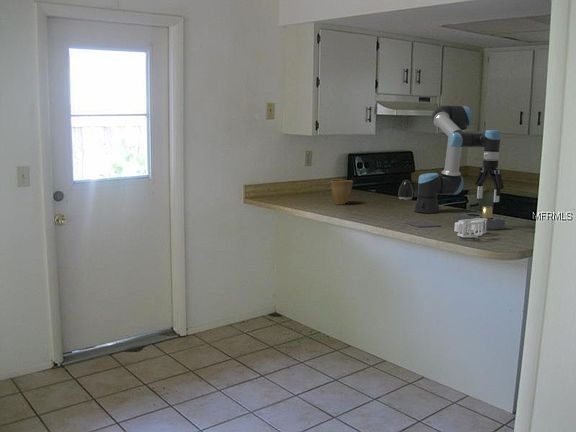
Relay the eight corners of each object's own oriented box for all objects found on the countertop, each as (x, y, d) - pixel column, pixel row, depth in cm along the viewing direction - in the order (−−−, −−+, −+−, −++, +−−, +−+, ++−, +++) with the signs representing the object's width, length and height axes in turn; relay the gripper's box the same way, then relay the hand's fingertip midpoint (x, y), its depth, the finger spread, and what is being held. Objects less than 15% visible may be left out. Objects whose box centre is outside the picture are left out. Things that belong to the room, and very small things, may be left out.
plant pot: (353, 206, 391) (353, 181, 389) (330, 205, 391) (331, 181, 389) (351, 203, 406) (352, 179, 403) (329, 202, 406) (329, 179, 404)
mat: (404, 223, 327) (404, 222, 327) (426, 222, 332) (426, 221, 331) (418, 227, 314) (418, 226, 314) (441, 226, 318) (441, 225, 318)
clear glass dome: (405, 202, 414) (406, 180, 411) (394, 201, 422) (395, 179, 420) (415, 201, 420) (417, 180, 417) (404, 200, 428) (405, 178, 426)
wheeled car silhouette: (477, 231, 307) (478, 217, 306) (494, 234, 298) (495, 220, 296) (449, 234, 297) (450, 219, 296) (466, 238, 287) (467, 223, 286)
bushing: (479, 226, 320) (480, 206, 318) (486, 226, 321) (488, 206, 320) (485, 228, 315) (486, 207, 313) (492, 228, 317) (494, 207, 315)
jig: (455, 222, 332) (456, 213, 331) (475, 221, 337) (476, 212, 336) (483, 230, 310) (484, 220, 309) (504, 229, 314) (505, 219, 313)
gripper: (469, 158, 323) (467, 197, 326) (500, 161, 300) (497, 203, 303) (481, 158, 325) (478, 196, 329) (513, 161, 302) (509, 203, 306)
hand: (487, 200), depth 316 cm, fingers open, 13 cm apart
